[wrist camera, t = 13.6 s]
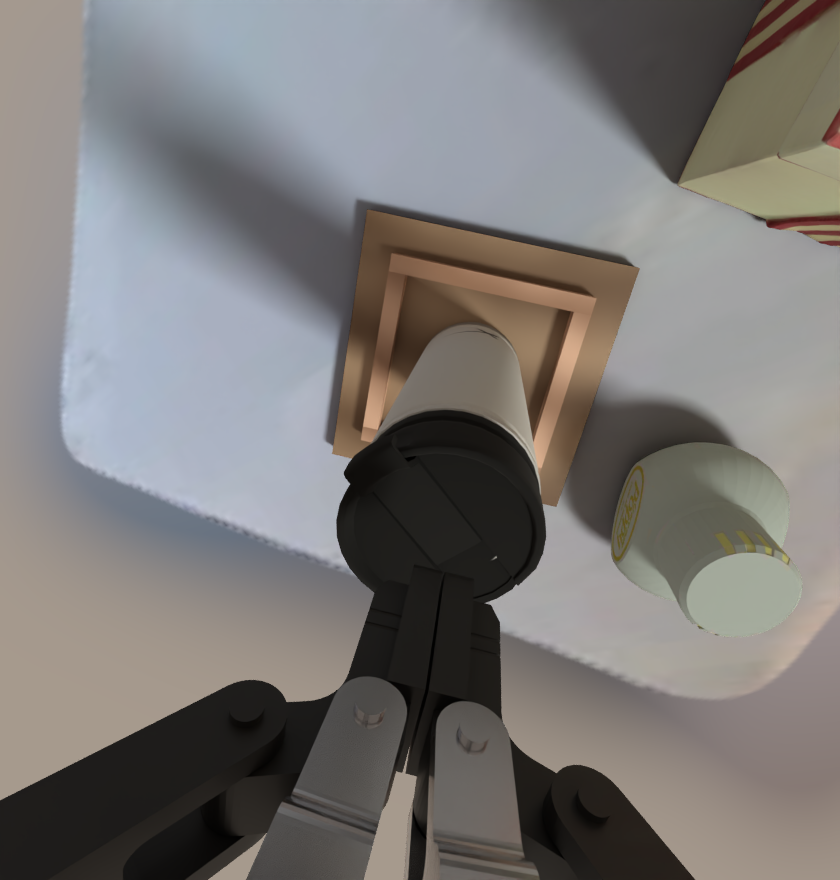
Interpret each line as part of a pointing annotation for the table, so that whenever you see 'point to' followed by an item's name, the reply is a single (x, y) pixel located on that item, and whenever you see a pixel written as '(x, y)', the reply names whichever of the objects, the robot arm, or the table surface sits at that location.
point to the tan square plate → (488, 302)
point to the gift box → (779, 123)
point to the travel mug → (449, 473)
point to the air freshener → (708, 537)
